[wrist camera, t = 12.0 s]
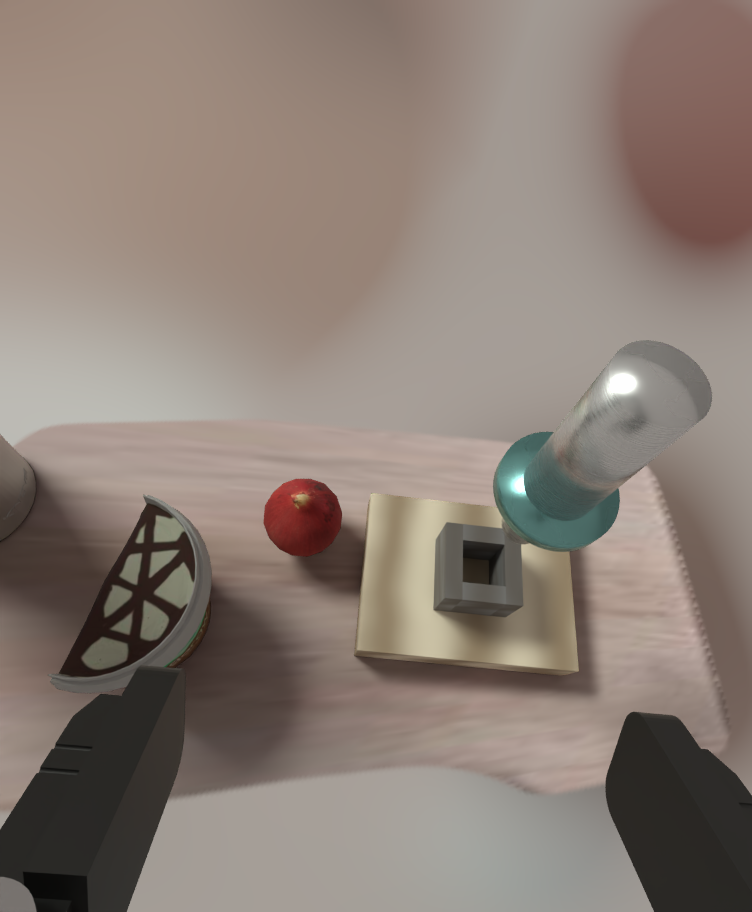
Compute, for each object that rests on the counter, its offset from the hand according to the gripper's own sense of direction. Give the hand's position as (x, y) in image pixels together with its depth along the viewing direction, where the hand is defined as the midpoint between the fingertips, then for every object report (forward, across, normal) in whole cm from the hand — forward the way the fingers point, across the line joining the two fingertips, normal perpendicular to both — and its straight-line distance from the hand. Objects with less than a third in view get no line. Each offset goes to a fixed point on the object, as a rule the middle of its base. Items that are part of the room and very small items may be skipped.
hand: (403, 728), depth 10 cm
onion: (+34, +4, +14) cm, 37 cm away
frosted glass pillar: (+22, -9, +5) cm, 24 cm away
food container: (+29, +12, +19) cm, 37 cm away
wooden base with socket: (+32, -9, +16) cm, 37 cm away
